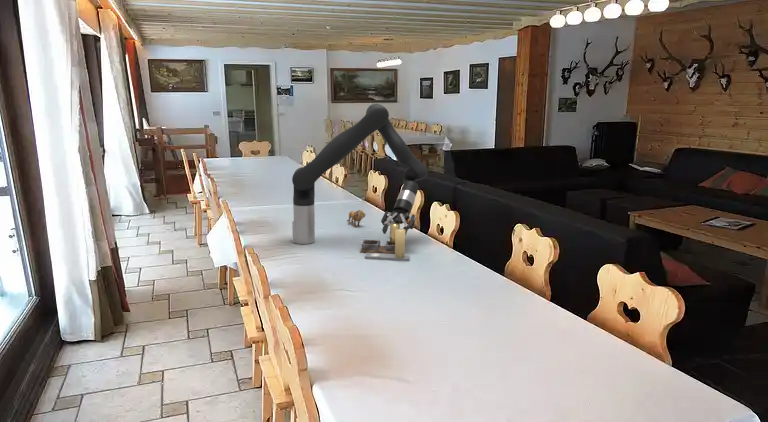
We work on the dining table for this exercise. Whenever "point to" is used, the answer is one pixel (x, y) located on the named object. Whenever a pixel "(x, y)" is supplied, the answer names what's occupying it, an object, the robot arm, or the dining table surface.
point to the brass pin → (393, 232)
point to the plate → (387, 257)
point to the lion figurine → (356, 216)
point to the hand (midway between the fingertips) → (393, 234)
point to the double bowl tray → (377, 247)
